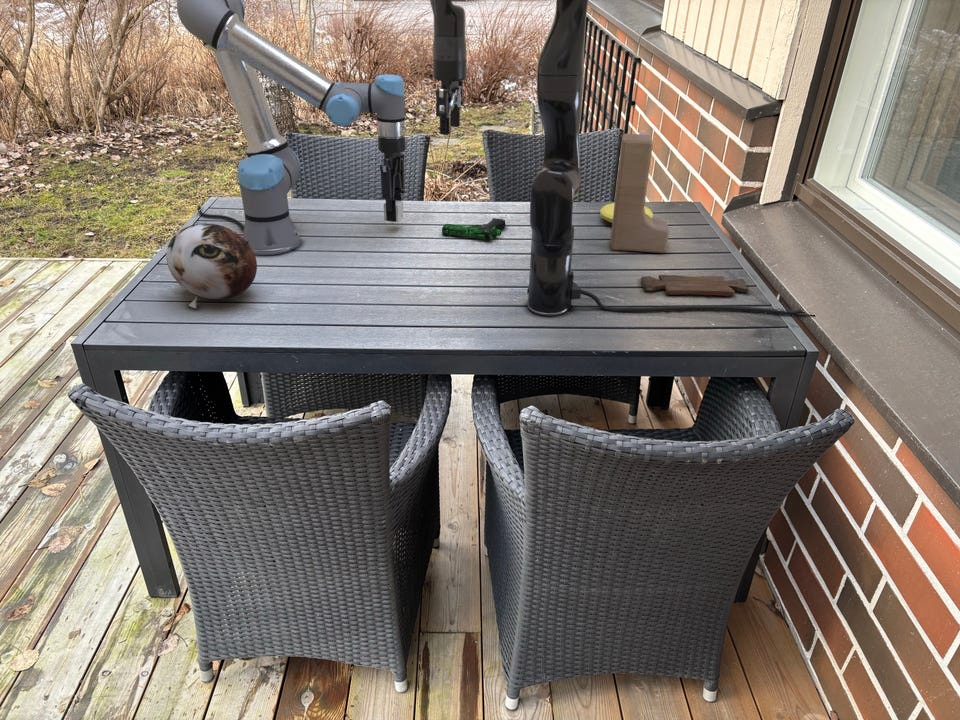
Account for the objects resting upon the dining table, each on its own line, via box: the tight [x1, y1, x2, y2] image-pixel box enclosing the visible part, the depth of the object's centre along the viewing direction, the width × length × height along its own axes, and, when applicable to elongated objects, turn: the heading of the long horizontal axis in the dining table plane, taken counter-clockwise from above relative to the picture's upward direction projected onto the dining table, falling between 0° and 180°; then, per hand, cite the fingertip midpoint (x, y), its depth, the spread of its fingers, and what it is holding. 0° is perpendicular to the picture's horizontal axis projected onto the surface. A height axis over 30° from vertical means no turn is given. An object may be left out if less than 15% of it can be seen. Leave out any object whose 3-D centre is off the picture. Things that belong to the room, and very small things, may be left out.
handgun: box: [441, 217, 506, 242], centre depth 207 cm, size 16×3×15 cm
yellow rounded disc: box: [599, 202, 654, 224], centre depth 215 cm, size 16×16×7 cm
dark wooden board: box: [640, 274, 748, 297], centre depth 176 cm, size 26×2×10 cm
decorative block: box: [610, 133, 670, 254], centre depth 191 cm, size 8×15×30 cm, turn 82°
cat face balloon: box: [165, 222, 258, 309], centre depth 165 cm, size 22×18×20 cm
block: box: [383, 200, 404, 223], centre depth 206 cm, size 4×4×5 cm
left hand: (394, 218), depth 207 cm, fingers closed on block, 4 cm apart
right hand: (450, 130), depth 169 cm, fingers open, 8 cm apart
